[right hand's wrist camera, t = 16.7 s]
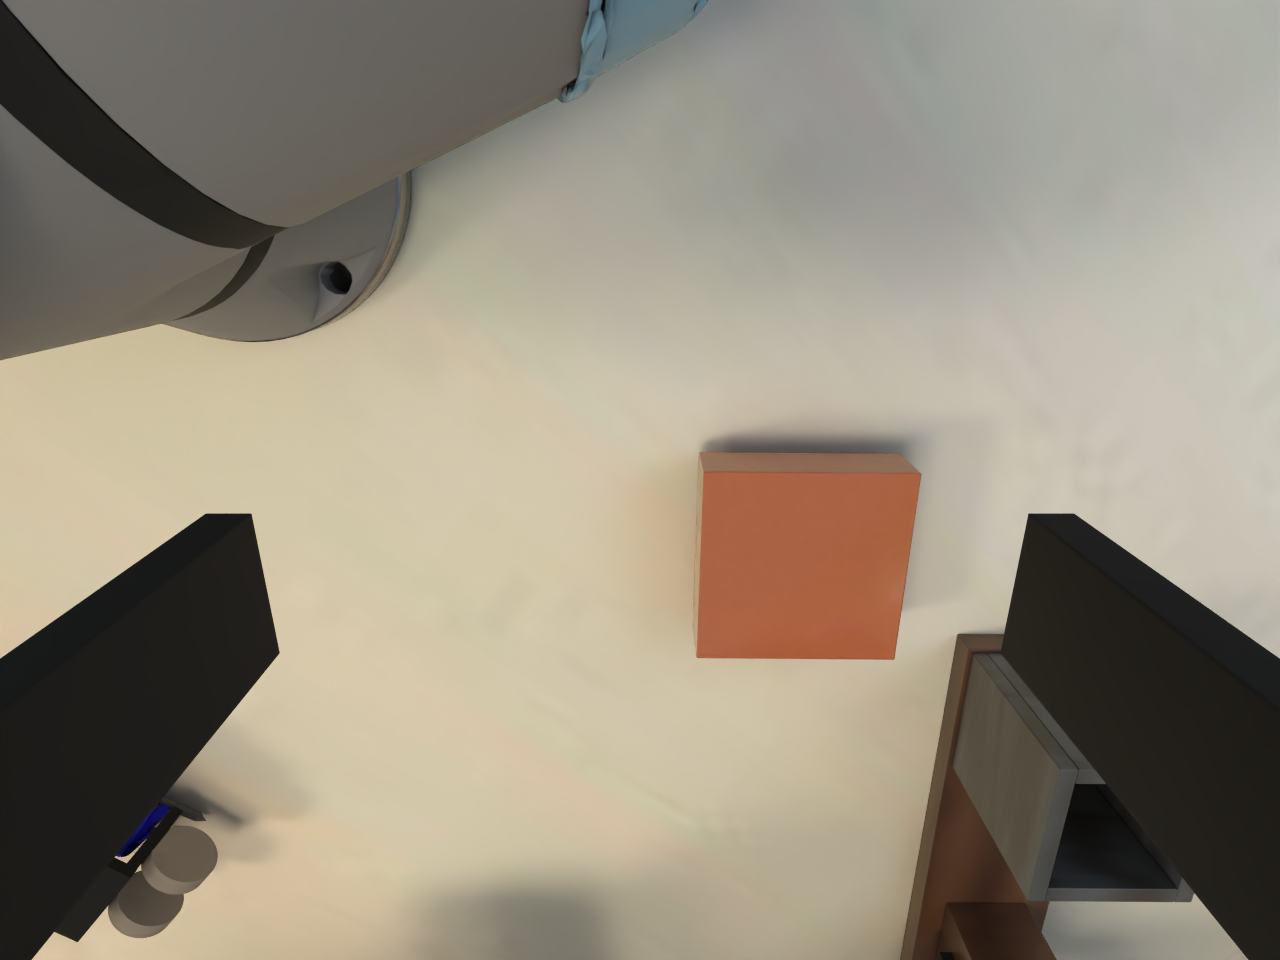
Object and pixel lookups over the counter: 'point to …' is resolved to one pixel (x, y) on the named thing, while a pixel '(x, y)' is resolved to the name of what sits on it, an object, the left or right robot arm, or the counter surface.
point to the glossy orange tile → (802, 554)
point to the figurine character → (147, 877)
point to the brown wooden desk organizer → (1017, 824)
